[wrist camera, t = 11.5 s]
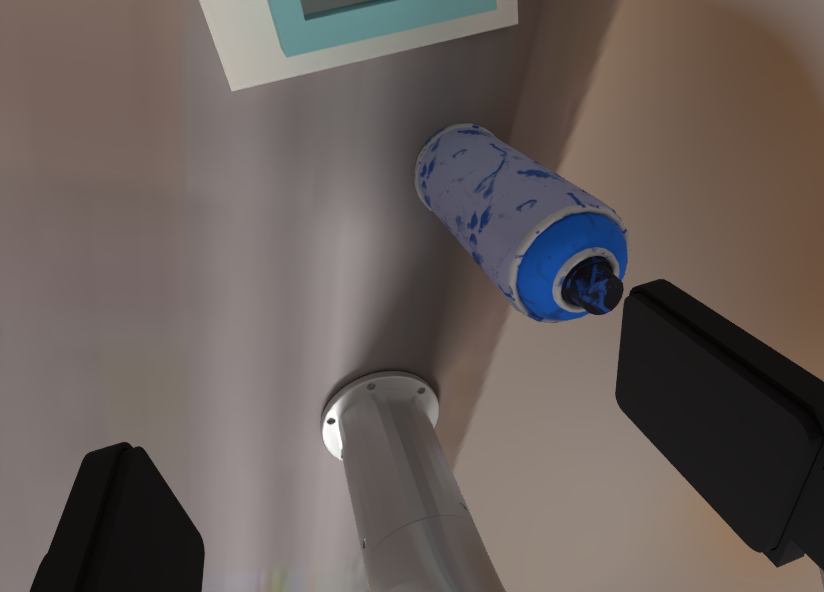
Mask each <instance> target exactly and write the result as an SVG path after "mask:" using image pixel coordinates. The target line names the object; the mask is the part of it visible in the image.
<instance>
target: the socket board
mask: <svg viewBox="0 0 824 592" xmlns="http://www.w3.org/2000/svg"><path fill="white" fill-rule="evenodd" d="M199 1H200V4H201V7H202V9H203V12H204V15H205V18H206V20H207V23H208V26H209V29H210V32H211V34H212V37H213V40H214V43H215V46H216V48H217V51H218V54H219V57H220V60H221V62H222V65H223V68H224V71H225V73H226V76H227V79H228V82H229V85H230V87H231V90H232V91H235V90H240V89H244V88H248V87H252V86H257V85H261V84H265V83H269V82H274V81H278V80H282V79H286V78H291V77H295V76H299V75H303V74H308V73H312V72H316V71H320V70H325V69H329V68H333V67H337V66H342V65H346V64H350V63H354V62H359V61H363V60H367V59H371V58H376V57H380V56H384V55H388V54H393V53H397V52H401V51H405V50H410V49H414V48H418V47H422V46H427V45H431V44H435V43H439V42H444V41H448V40H452V39H456V38H461V37H465V36H469V35H473V34H478V33H482V32H486V31H490V30H495V29H499V28H503V27H507V26H512V25H516V24H518V2H517V0H199Z"/></svg>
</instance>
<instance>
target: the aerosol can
mask: <svg viewBox="0 0 824 592" xmlns="http://www.w3.org/2000/svg"><path fill="white" fill-rule="evenodd" d="M414 181H415V188H416V190H417V193H418V196H419V199H420V200H421V201H422V202H423V203H424V204H425V206H426V207H427V208H428V209H429V210H430V211H431V212H433V213H435V214H436V215H437V216H438V218H439V219H440V220H441V221H442V222H443V223H444V225H445V226H446V227H447V228H448V229H449V231H450V232H451V233H452V234H453V235H454V237H455V238H456V239H457V240H458V241H459V242H460V244H461V245H462V246H463V247H464V248H465V250H466V251H467V252H468V253H469V254H470V255H471V257H472V258H473V259H474V260H475V261H476V263H477V264H478V265H479V266H480V267H481V269H482V270H483V271H484V272H485V273H486V274H487V276H488V277H489V278H490V279H491V280H492V282H493V283H494V284H495V285H496V286H497V288H498V289H499V290H500V291H501V292H502V293H503V295H504V296H505V297H506V298H507V299H508V301H509V302H510V303H511V304H512V305H513V307H514V308H515V309H516V310H517V311H519V312H521V313H522V314H523V315H525V316H528V317H530V318H532V319H534V320H536V321H539V322H549V323H558V322H562V321H567V320H572V319H576V318H580V317H583V316H585V315H587V314H589V313H591V314H594V315H603V314H606V313H608V312H610V311H612V310H613V309H614V308H615V307H616V306H617V304H618V303H619V301H620V299H621V298H622V294H623V290H624V289H623V283H622V282H621V281H622V279H623V277H624V275H625V270H626V265H627V261H628V255H629V251H630V246H629V235H628V231H627V229H626V228H625V226H624V224H623V222H622V220H621V218H620V217H619V216H618V215H617V214H616V213H615V211H614V210H613V209H612V208H610V207H609V206H607V205H606V204H605V203H603V202H602V201H600V200H599V199H597V198H595V197H594V196H592V195H591V194H589V193H587V192H586V191H584V190H582V189H581V188H579V187H577V186H575V185H574V184H572V183H571V182H569V181H567V180H566V179H564V178H562V177H561V176H559V175H557V174H556V173H554V172H552V171H551V170H549V169H547V168H546V167H544V166H542V165H541V164H539V163H537V162H536V161H534V160H532V159H531V158H529V157H527V156H526V155H524V154H522V153H521V152H519V151H517V150H516V149H514V148H512V147H511V146H509V145H507V144H506V143H504V142H502V141H501V140H499V139H497V138H496V136H495V135H494V134H492V133H491V132H489V131H488V130H487V129H485V128H484V127H482V126H479V125H475V124H471V123H462V124H453V125H451V126H449V127H446V128H444V129H442V130H440V131H438V132H437V133H436V134H435V135H434V136H433V137H432V138H431V139H429V140H428V141H427V142H426V144H425V146H424V147H423V149H422V150H421V152H420V154H419V155H418V159H417V162H416V166H415V170H414Z"/></svg>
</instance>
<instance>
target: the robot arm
mask: <svg viewBox="0 0 824 592" xmlns="http://www.w3.org/2000/svg"><path fill="white" fill-rule="evenodd" d="M615 395H616V400H617V403H618V405H619V407H620V408H621V410H622V411H623V412H624V413H625V414H626V415H627V416H628V418H629V419H630V420H631V421H632V422H633V423H634V424H635V425H636V426H637V427H638V428H639V429H640V430H641V431H642V432H643V434H644V435H645V436H646V437H647V438H648V439H649V440H650V441H651V442H652V443H653V444H654V446H655V447H656V448H657V449H658V450H659V451H660V452H661V453H662V454H663V455H664V456H665V457H666V458H667V459H668V461H669V462H670V463H671V464H672V465H673V466H674V467H675V468H676V469H677V470H678V471H679V472H680V473H681V475H682V476H683V477H685V479H686V480H687V481H688V482H689V483H690V484H691V485H692V486H693V487H694V488H695V490H696V491H697V492H698V493H699V494H700V495H701V496H702V497H703V498H704V499H705V500H706V501H707V502H708V503H709V504H710V506H711V507H712V508H713V509H714V510H715V511H716V512H717V513H718V514H719V515H720V516H721V517H722V519H723V520H724V521H725V522H726V523H727V524H728V525H729V526H730V527H731V528H732V529H733V530H734V532H735V533H736V534H737V535H738V536H739V537H740V538H741V539H742V540H743V541H744V542H745V543H746V544H747V545H748V546H749V547H750V548H752V549H753V550H754V551H757V552H759V553H761V552H763V553H764V554H765V555H766V556H767V557H768V558H769V560H770V561H771V562H772V563H773V564H774V565H775V566H776V567H780V566H782V565H785V564H787V563H789V562H792V561H794V560H796V559H799V558H801V557H803V556H804V554H805V553H806V554H807V555H808V556H809V557H810V558H811V559H812V560H813V561H814V562H815V563H816V564H817V565H818V566H819V569H820V574H821V578H822V582H823V587H824V382H823V381H822V380H820V379H819V378H817V377H816V376H814V375H812V374H811V373H809V372H808V371H806V370H805V369H803V368H802V367H800V366H798V365H797V364H796V363H794V362H792V361H791V360H789V359H788V358H786V357H785V356H783V355H781V354H780V353H778V352H777V351H775V350H774V349H772V348H771V347H769V346H768V345H766V344H765V343H763V342H761V341H760V340H758V339H757V338H755V337H754V336H752V335H751V334H749V333H747V332H746V331H744V330H743V329H741V328H740V327H738V326H737V325H735V324H734V323H732V322H730V321H729V320H727V319H725V318H724V317H723V316H721V315H720V314H718V313H716V312H715V311H713V310H712V309H710V308H709V307H707V306H706V305H704V304H703V303H701V302H699V301H698V300H696V299H695V298H693V297H692V296H690V295H689V294H687V293H686V292H684V291H682V290H681V289H679V288H678V287H676V286H674V285H673V284H672V283H670V282H668V281H666V280H664V279H658V280H655V281H652V282H648V283H645V284H642V285H638V286H636V287H634V288H632V290H631V291H630V294H629V296H628V297H627V298H626V299H625V301H624V307H623V318H622V329H621V339H620V350H619V361H618V371H617V381H616V392H615ZM438 415H439V403H438V400H437V397H436V395H435V393H434V391H433V389H432V387H431V386H430V385H429V384H428V383H427V382H426V381H425V380H423V379H422V378H420V377H418V376H416V375H413V374H411V373H407V372H401V371H384V372H377V373H373V374H370V375H366V376H364V377H361V378H359V379H357V380H355V381H353V382H351V383H350V384H348V385H346V386H345V387H343V388H342V389H341V390H340V391H339V392H338V393H336V394H335V395H334V397H333V398H332V399H331V400H330V401H329V403H328V404H327V406H326V408H325V410H324V412H323V415H322V418H321V434H322V440H323V442H324V445H325V447H326V448H327V449H328V451H329V452H330V453H331V454H332V455H334V456H335V457H336V458H338V459H340V460H342V461H343V463H344V468H345V473H346V478H347V483H348V487H349V492H350V497H351V502H352V507H353V511H354V516H355V521H356V526H357V530H358V535H359V540H360V545H361V550H362V554H363V559H364V564H365V569H366V575H367V580H368V584H369V588H370V592H506V591H505V589H504V587H503V585H502V583H501V581H500V579H499V577H498V575H497V573H496V571H495V568H494V566H493V564H492V562H491V560H490V557H489V555H488V553H487V551H486V548H485V546H484V544H483V541H482V539H481V537H480V534H479V532H478V530H477V528H476V526H475V523H474V521H473V519H472V516H471V514H470V512H469V509H468V507H467V505H466V502H465V500H464V498H463V495H462V493H461V491H460V488H459V486H458V484H457V481H456V479H455V477H454V474H453V472H452V470H451V467H450V465H449V463H448V460H447V458H446V456H445V453H444V451H443V449H442V446H441V444H440V442H439V439H438V437H437V435H436V433H435V430H434V427H435V425H436V423H437V420H438ZM204 556H205V551H204V544H203V540H202V537H201V535H200V533H199V532H198V530H197V529H196V527H195V526H194V524H193V522H192V521H191V519H190V518H189V516H188V515H187V513H186V512H185V510H184V509H183V507H182V506H181V504H180V503H179V501H178V500H177V498H176V497H175V495H174V494H173V492H172V491H171V489H170V488H169V486H168V485H167V483H166V482H165V480H164V479H163V477H162V475H161V474H160V472H159V471H158V469H157V468H156V466H155V465H154V463H153V462H152V460H151V459H150V457H149V456H148V454H147V453H146V451H145V450H144V449H143V448H142V447H140V446H139V447H135V448H133V447H132V446H131V445H130V444H129V443H127V442H122V443H118V444H115V445H112V446H108V447H105V448H102V449H99V450H95V451H92V452H89V453H88V454H86V455H85V457H84V459H83V461H82V463H81V466H80V469H79V471H78V474H77V477H76V479H75V482H74V484H73V487H72V490H71V492H70V495H69V498H68V500H67V503H66V506H65V508H64V511H63V514H62V516H61V519H60V522H59V524H58V527H57V530H56V532H55V535H54V537H53V540H52V543H51V545H50V548H49V551H48V553H47V554H46V555H45V556H44V558H43V560H42V562H41V564H40V566H39V568H38V571H37V573H36V576H35V579H34V581H33V584H32V586H31V589H30V592H201V591H202V580H203V568H204Z"/></svg>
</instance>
